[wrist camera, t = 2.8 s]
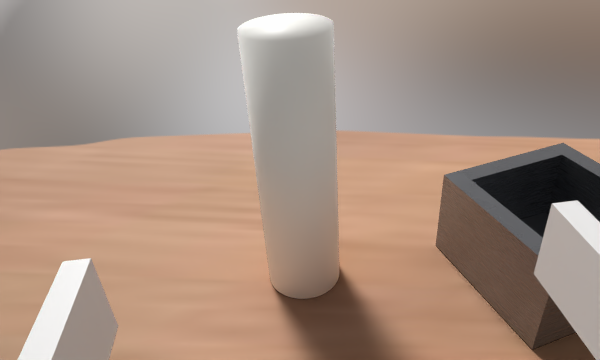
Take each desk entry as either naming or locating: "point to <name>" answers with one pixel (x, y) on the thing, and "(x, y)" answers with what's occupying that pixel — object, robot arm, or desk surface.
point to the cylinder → (294, 146)
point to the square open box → (514, 230)
